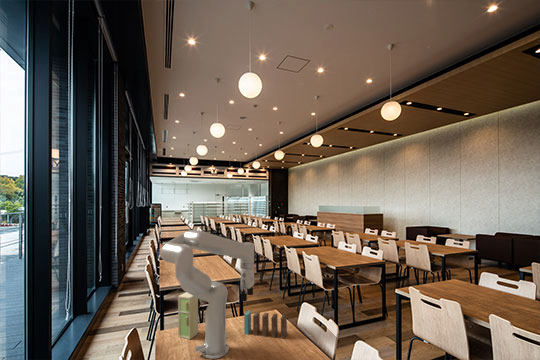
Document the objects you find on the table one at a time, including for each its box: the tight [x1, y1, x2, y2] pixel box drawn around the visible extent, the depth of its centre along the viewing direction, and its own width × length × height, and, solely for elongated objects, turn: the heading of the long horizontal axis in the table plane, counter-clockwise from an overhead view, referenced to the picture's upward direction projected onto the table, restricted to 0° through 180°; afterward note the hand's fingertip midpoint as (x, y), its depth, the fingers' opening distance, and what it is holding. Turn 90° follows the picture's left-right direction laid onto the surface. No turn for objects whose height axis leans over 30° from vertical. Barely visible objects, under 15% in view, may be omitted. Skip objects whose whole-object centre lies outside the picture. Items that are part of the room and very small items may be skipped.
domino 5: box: [280, 314, 288, 340], centre depth 139 cm, size 2×5×10 cm, turn 165°
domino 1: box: [243, 310, 252, 336], centre depth 144 cm, size 2×5×10 cm, turn 165°
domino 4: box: [270, 313, 279, 339], centre depth 140 cm, size 2×5×10 cm, turn 165°
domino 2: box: [252, 311, 261, 337], centre depth 143 cm, size 2×5×10 cm, turn 165°
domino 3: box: [261, 312, 270, 338], centre depth 142 cm, size 2×5×10 cm, turn 165°
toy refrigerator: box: [177, 291, 199, 340], centre depth 142 cm, size 8×7×21 cm
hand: (247, 297), depth 145 cm, fingers open, 9 cm apart
